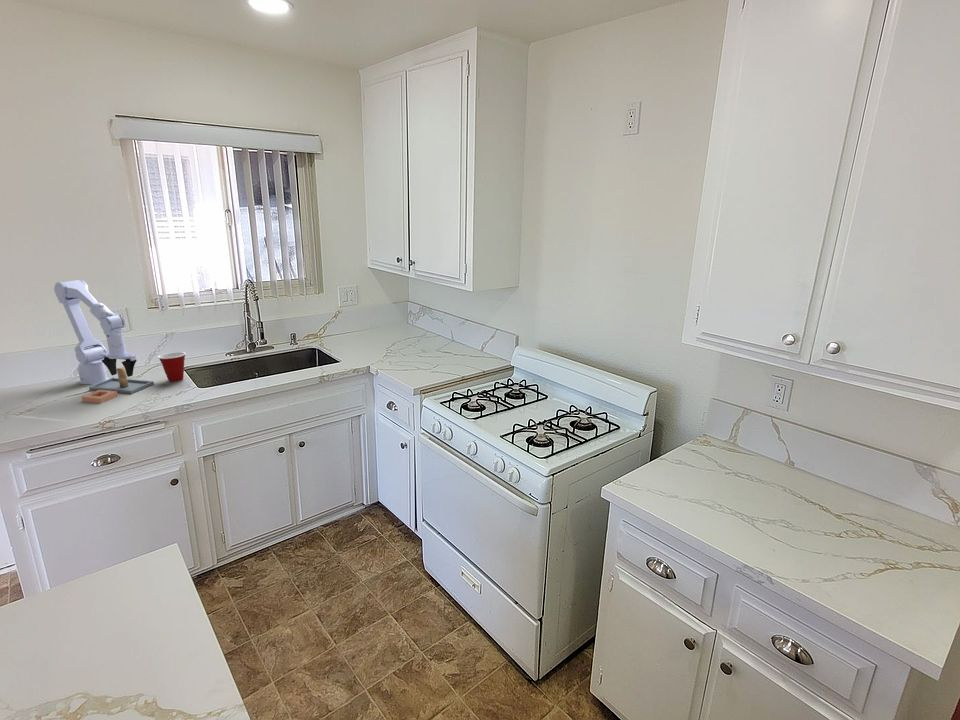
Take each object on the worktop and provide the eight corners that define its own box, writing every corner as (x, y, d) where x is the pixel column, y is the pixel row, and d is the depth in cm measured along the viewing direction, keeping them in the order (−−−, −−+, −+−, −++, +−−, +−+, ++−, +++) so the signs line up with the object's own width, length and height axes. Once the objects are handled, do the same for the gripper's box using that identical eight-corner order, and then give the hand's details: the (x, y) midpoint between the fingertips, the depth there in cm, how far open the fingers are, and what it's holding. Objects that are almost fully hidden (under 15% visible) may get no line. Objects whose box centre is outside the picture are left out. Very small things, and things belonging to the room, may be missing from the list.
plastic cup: (183, 374, 240) (179, 349, 237) (193, 379, 234) (190, 354, 230) (157, 379, 232) (153, 354, 229) (167, 385, 226) (163, 359, 222)
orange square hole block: (82, 402, 206) (81, 396, 205) (100, 395, 214) (99, 389, 213) (101, 404, 205) (99, 398, 204) (118, 396, 213) (117, 391, 212)
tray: (89, 390, 218) (88, 386, 217) (113, 381, 229) (112, 377, 229) (132, 395, 215) (131, 390, 214) (154, 385, 226) (153, 381, 226)
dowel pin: (118, 387, 220) (115, 369, 218) (124, 384, 223) (120, 367, 221) (124, 387, 220) (121, 369, 218) (130, 385, 223) (127, 367, 220)
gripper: (92, 345, 213) (98, 377, 217) (124, 348, 211) (129, 379, 215) (107, 341, 220) (112, 371, 224) (137, 343, 218) (143, 374, 222)
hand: (122, 375), depth 220 cm, fingers open, 7 cm apart
